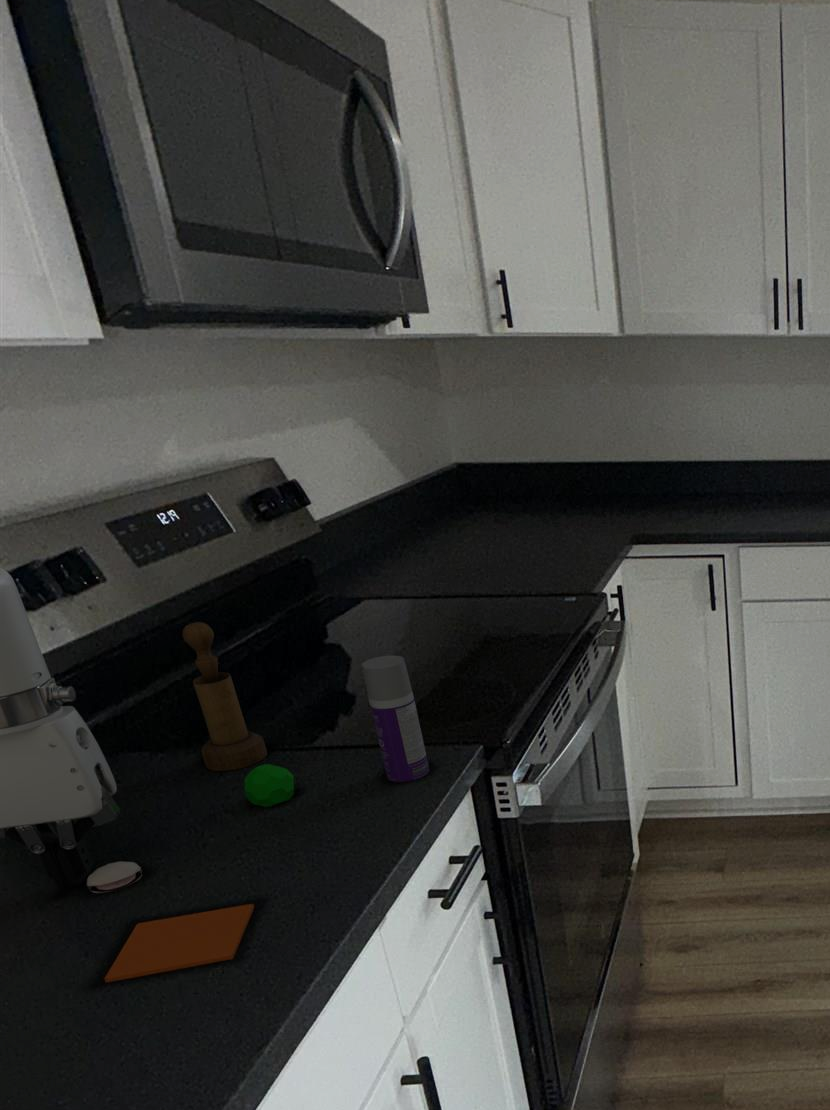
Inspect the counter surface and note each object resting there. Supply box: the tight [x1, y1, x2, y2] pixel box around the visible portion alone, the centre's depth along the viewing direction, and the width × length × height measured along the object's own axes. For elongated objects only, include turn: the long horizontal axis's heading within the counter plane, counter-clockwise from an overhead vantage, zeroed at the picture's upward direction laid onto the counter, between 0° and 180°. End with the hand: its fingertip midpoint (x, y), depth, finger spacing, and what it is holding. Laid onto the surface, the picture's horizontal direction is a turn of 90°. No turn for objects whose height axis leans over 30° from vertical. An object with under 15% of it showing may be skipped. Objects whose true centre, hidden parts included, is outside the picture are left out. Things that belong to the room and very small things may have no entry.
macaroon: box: [86, 860, 143, 894], centre depth 90 cm, size 4×5×2 cm
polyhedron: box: [244, 763, 295, 808], centre depth 105 cm, size 5×5×5 cm
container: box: [361, 655, 430, 783], centre depth 109 cm, size 5×5×15 cm
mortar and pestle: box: [182, 621, 268, 772], centre depth 113 cm, size 7×6×18 cm
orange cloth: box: [104, 903, 255, 983], centre depth 82 cm, size 10×9×1 cm
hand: (75, 879), depth 89 cm, fingers closed
